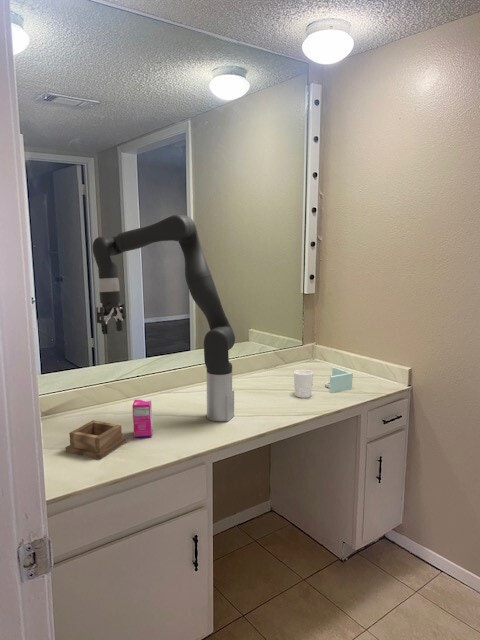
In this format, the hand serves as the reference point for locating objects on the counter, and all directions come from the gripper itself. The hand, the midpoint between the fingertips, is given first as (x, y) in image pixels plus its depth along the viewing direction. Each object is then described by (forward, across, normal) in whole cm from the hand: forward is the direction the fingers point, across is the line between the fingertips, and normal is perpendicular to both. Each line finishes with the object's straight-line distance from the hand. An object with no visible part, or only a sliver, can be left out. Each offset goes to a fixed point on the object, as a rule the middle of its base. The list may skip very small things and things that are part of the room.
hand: (112, 332), depth 186 cm
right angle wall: (+33, +58, -71) cm, 97 cm away
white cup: (+32, +42, -62) cm, 81 cm away
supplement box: (+31, -20, -25) cm, 45 cm away
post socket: (+31, -34, -18) cm, 49 cm away
